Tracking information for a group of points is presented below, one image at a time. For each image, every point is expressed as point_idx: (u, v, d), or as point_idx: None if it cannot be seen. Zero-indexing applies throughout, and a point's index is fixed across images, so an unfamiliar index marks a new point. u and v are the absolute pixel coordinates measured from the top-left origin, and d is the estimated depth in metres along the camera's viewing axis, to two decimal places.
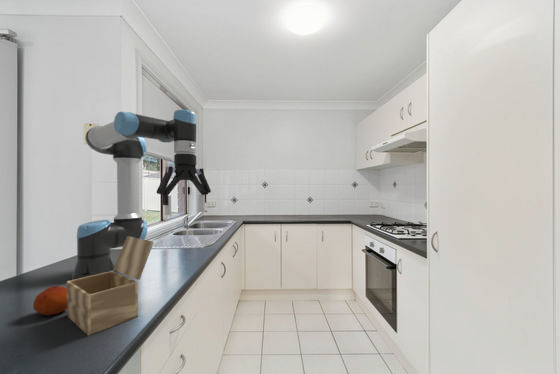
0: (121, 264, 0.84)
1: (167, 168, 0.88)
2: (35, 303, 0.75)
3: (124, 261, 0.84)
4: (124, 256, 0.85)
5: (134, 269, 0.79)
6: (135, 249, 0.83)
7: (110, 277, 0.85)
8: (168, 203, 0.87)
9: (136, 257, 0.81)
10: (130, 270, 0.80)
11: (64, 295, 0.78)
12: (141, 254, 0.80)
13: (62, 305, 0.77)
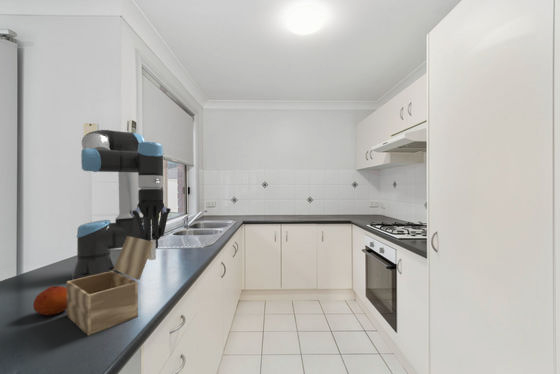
0: (121, 264, 0.84)
1: (132, 214, 0.83)
2: (35, 303, 0.75)
3: (124, 261, 0.84)
4: (124, 256, 0.85)
5: (134, 269, 0.79)
6: (135, 249, 0.83)
7: (110, 277, 0.85)
8: None
9: (136, 257, 0.81)
10: (130, 270, 0.80)
11: (64, 295, 0.78)
12: (141, 254, 0.80)
13: (62, 305, 0.77)
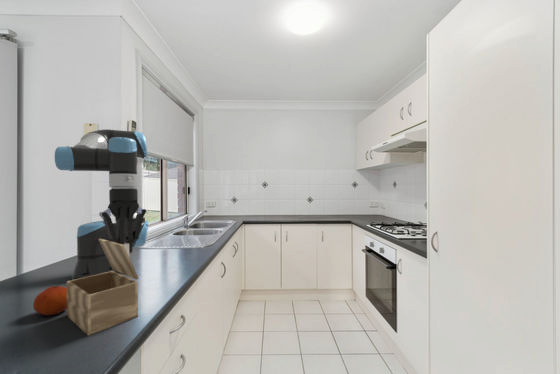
0: (115, 265, 0.83)
1: (101, 216, 0.76)
2: (35, 303, 0.75)
3: (115, 263, 0.82)
4: (111, 258, 0.82)
5: (127, 270, 0.77)
6: (114, 252, 0.78)
7: (110, 277, 0.85)
8: None
9: (121, 260, 0.77)
10: (125, 271, 0.79)
11: (63, 295, 0.78)
12: (122, 257, 0.75)
13: (62, 305, 0.77)
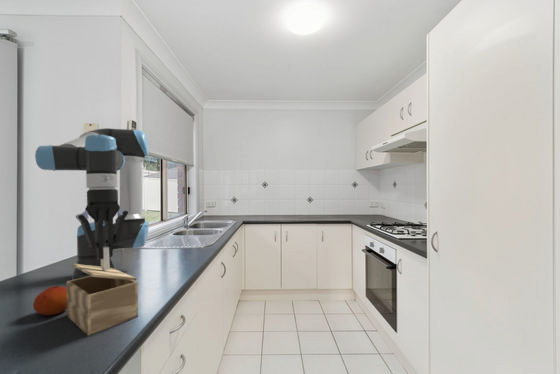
0: None
1: (78, 219, 0.72)
2: (35, 303, 0.75)
3: None
4: None
5: None
6: None
7: None
8: (103, 256, 0.75)
9: None
10: (121, 275, 0.78)
11: (64, 295, 0.78)
12: None
13: (62, 305, 0.77)
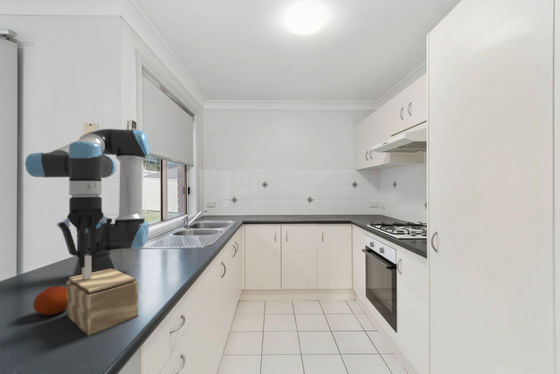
0: None
1: (59, 226, 0.71)
2: (35, 303, 0.75)
3: None
4: None
5: None
6: None
7: None
8: (84, 265, 0.74)
9: None
10: None
11: (63, 295, 0.78)
12: None
13: (62, 305, 0.77)
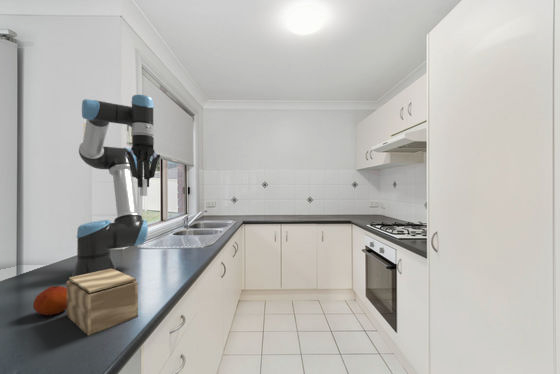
0: None
1: (126, 154, 0.98)
2: (35, 303, 0.75)
3: None
4: None
5: None
6: None
7: None
8: (142, 185, 1.01)
9: None
10: None
11: (64, 295, 0.78)
12: None
13: (63, 305, 0.77)
